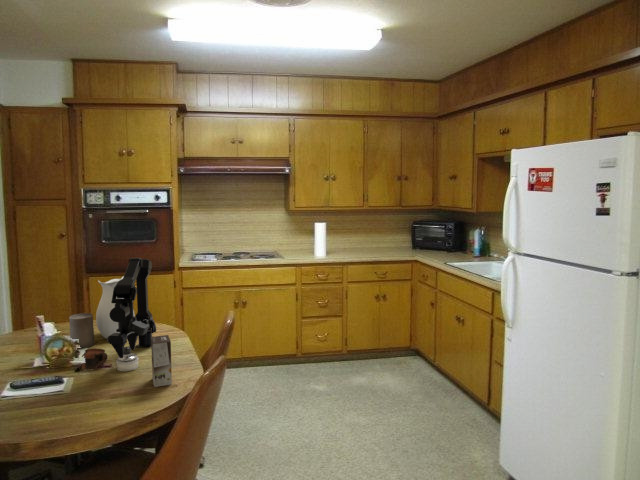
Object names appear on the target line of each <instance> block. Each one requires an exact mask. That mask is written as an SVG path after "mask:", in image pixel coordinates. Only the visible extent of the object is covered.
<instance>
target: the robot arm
mask: <svg viewBox="0 0 640 480" xmlns="http://www.w3.org/2000/svg"><path fill="white" fill-rule="evenodd" d="M128 259H129V260H128V265H127V268H126V271H125V272H124V275H123V276H124V277H123V276H122V277H123V279H121V278H120V279H121V280H120V281H118V282H117V284H116V286H115V287H114V290H113V296H112V301H111V303H116V304H115V307H114V308H113V309H112V310H111V311H110V314H109V315H110V318H111V320H113V321H114V322H118V329H116V332H120V333H113V334H111V335H110V336H109V337H108V338H106V339H107V340H106V341H107V344H109V345H111V346H112V348H113V349H114V350H115V353H116V354H117V355H118V356H119V357H120V358H123V354H124V347H125V345H126V344H127V343H128V345H129V347H131V351H134V350H135V348H151V337H153V334H154V333H157V325H156V323H155V320H154V318H153V314H152V312H151V311H150V310H149V290H148V289H149V288H148V287H149V286H148V277H149V275H150V274H151V271H152V269H153V263H152V261H151V260H149V258H141V257H131V258H128ZM135 283H136V284H135ZM116 297H117V298H124V299H116ZM135 301H136V303H137V305H136V306H137V312H136V315H135V310H134V311H133V309H134V303H135ZM137 341H138V344H137ZM118 356H117V357H118Z"/></svg>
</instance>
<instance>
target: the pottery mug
mask: <svg viewBox="0 0 640 480" xmlns="http://www.w3.org/2000/svg"><path fill="white" fill-rule="evenodd" d="M82 357H83V359H84V363H82V364H81V369H82V370H97V369H98V366H99V367H102V366H104V365H105V363H106V362H107V360H108V354H107V353H106V350H105V349H103V348H97V347H96V348H95V347H93V348H87V349H86V348H85V350H84V353H83V354H82V355H81V358H82Z"/></svg>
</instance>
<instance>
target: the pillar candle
mask: <svg viewBox="0 0 640 480" xmlns="http://www.w3.org/2000/svg"><path fill="white" fill-rule="evenodd" d="M68 319H69V322H68V323H69V338H72V339H79V345H80V347H87V348H90V347H92V346H94V345H95V344H96V343H95V332H94V315H93V313H91V312H83V313H82V312H81V313H76V314H72V315H70V316H69V317H68Z"/></svg>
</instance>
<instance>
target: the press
mask: <svg viewBox="0 0 640 480" xmlns="http://www.w3.org/2000/svg"><path fill="white" fill-rule="evenodd" d="M139 359H140V358H139V356H138V355H137V358H136V359H134V360H130V361H119V360H118V358H116V359H115V363H116V370H117V371H118V372H131V371H134V370H137V369H138V368H139Z"/></svg>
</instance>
